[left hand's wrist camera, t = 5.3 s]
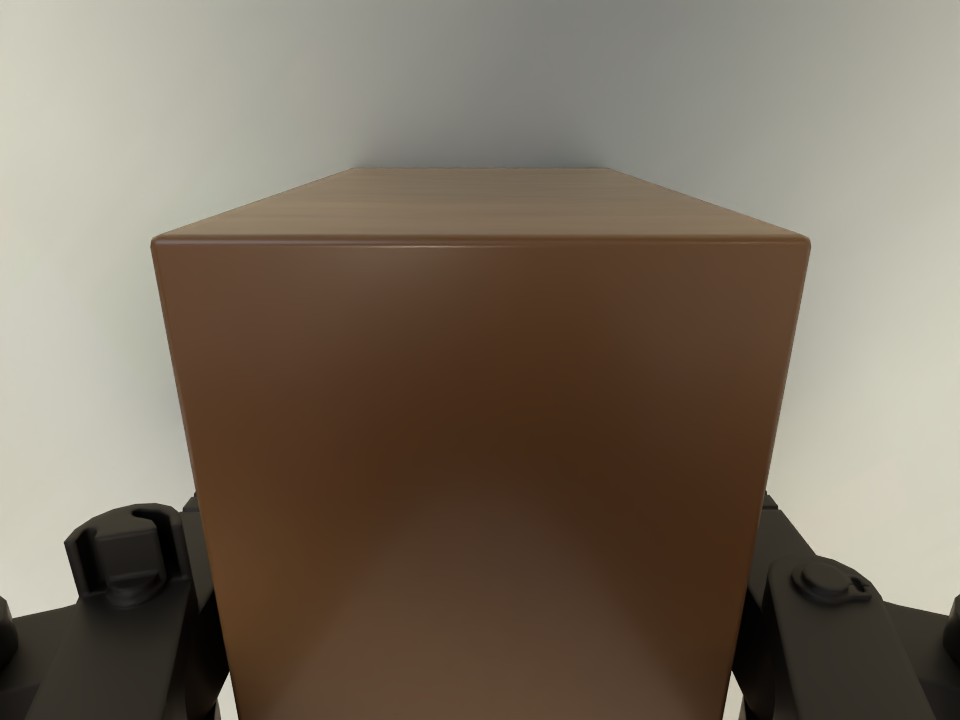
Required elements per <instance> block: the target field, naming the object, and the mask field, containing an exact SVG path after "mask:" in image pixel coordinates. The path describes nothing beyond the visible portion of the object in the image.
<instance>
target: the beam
mask: <svg viewBox="0 0 960 720" xmlns="http://www.w3.org/2000/svg"><path fill="white" fill-rule="evenodd" d="M150 248H151V253H152V258H153V264H154V269H155V274H156V280H157V285H158V290H159V296H160V301H161V306H162V312H163V317H164V323H165V328H166V333H167V339H168V344H169V349H170V355H171V360H172V365H173V371H174V376H175V382H176V387H177V392H178V398H179V403H180V408H181V414H182V419H183V424H184V430H185V435H186V440H187V446H188V451H189V457H190V462H191V467H192V473H193V478H194V483H195V489H196V494H197V499H198V505H199V510H200V515H201V521H202V526H203V532H204V537H205V542H206V548H207V553H208V558H209V564H210V569H211V574H212V580H213V585H214V590H215V596H216V601H217V607H218V612H219V617H220V623H221V628H222V633H223V639H224V644H225V649H226V655H227V660H228V665H229V671H230V676H231V682H232V687H233V692H234V698H235V703H236V708H237V714H238V719H239V720H722V719H723V713H724V708H725V703H726V697H727V692H728V687H729V681H730V676H731V671H732V665H733V660H734V655H735V649H736V644H737V639H738V633H739V628H740V623H741V617H742V612H743V607H744V601H745V596H746V591H747V585H748V580H749V575H750V569H751V564H752V559H753V554H754V548H755V543H756V538H757V532H758V527H759V522H760V516H761V511H762V506H763V500H764V495H765V490H766V484H767V479H768V474H769V468H770V463H771V458H772V452H773V447H774V442H775V436H776V431H777V426H778V420H779V415H780V410H781V404H782V399H783V394H784V388H785V383H786V378H787V373H788V367H789V362H790V357H791V351H792V346H793V341H794V335H795V330H796V325H797V319H798V314H799V309H800V303H801V298H802V293H803V287H804V282H805V277H806V271H807V266H808V261H809V255H810V250H811V244H810V239H809V238H808V237H806V236H803V235H801V234H798V233H795V232H793V231H790V230H787V229H784V228H781V227H778V226H775V225H772V224H769V223H766V222H763V221H760V220H758V219H755V218H752V217H749V216H746V215H743V214H740V213H737V212H734V211H731V210H728V209H725V208H722V207H720V206H717V205H714V204H711V203H708V202H705V201H702V200H699V199H696V198H693V197H690V196H687V195H685V194H682V193H679V192H676V191H673V190H670V189H667V188H664V187H661V186H658V185H655V184H652V183H650V182H647V181H644V180H641V179H638V178H635V177H632V176H629V175H626V174H623V173H620V172H617V171H615V170H612V169H609V168H351V169H349V170H346V171H343V172H340V173H337V174H334V175H331V176H328V177H325V178H322V179H320V180H317V181H314V182H311V183H308V184H305V185H302V186H299V187H296V188H293V189H291V190H288V191H285V192H282V193H279V194H276V195H273V196H270V197H267V198H264V199H262V200H259V201H256V202H253V203H250V204H247V205H244V206H241V207H238V208H235V209H233V210H230V211H227V212H224V213H221V214H218V215H215V216H212V217H209V218H206V219H203V220H201V221H198V222H195V223H192V224H189V225H186V226H183V227H180V228H177V229H174V230H172V231H169V232H166V233H163V234H160V235H158V236H156V237H153V238H152V240H151V247H150Z"/></svg>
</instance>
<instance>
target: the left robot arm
mask: <svg viewBox="0 0 960 720" xmlns="http://www.w3.org/2000/svg"><path fill="white" fill-rule="evenodd" d="M64 545H65V548H66V552H67V556H68V559H69V563H70V566H71V570H72V573H73V577H74V580H75V584H76V587H77V591H78V594H79V598H78V600H77V603H76V604H74V605H71V606H67V607H64V608H59V609H54V610H50V611H45V612H40V613H36V614H31V615H26V616H22V617H17V618H12V616H11V613H10V610H9V607H8V604H7V601H6V600H5V599H4V598H2V597H1V596H0V720H221V716H220V709H219V704H218V699H217V697H218V695H219V693H220V691H221V689H222V686H223V684H224V682H225V680H226V678H227V676H228V673H229V665H228V660H227V655H226V649H225V644H224V639H223V633H222V628H221V623H220V617H219V612H218V607H217V601H216V596H215V590H214V585H213V580H212V574H211V569H210V564H209V558H208V553H207V548H206V542H205V537H204V532H203V526H202V521H201V515H200V510H199V505H198V499H197V494H196V492H195V493H194V497H191V498H190V500H189V501H188V502H187V503H186V505H185V506H184V507H183V512H178V511H176V510H175V509H174V508H173V507H171V506H167V505H162V504H157V503H147V504H134V505H129V506H125V507H121V508H116V509H113V510H110V511H108V512H106V513H103V514H101V515H98V516H96V517H93V518H92V519H90V520H89V521H87V522H85V523H84V524H82V525H81V526H79V527H78V528H76V529H75V530H74V531H73V532H72V533H71V534H70V536H69V537H68V538H67V539H66V540H65V541H64ZM732 672H733V674H734V676H735V678H736V680H737V682H738V685H739V687H740V689H741V691H742V693H743V699H742V704H741V709H740V714H739V719H738V720H960V595H958V596H957V597H956V598H955V600H954V603H953V606H952V609H951V612H950V615H949V616H947V615H942V614H937V613H933V612H928V611H923V610H919V609H914V608H909V607H905V606H900V605H896V604H892V603H889V602H885V601H883V599H882V597H881V595H880V594H879V593H878V591H877V590H876V588H875V587H874V586H873V584H872V583H871V582H870V581H869V580H867V579H866V578H865V577H863V576H862V575H861V574H859V573H858V572H857V571H856V570H854V569H852V568H850V567H848V566H846V565H844V564H842V563H839V562H837V561H835V560H832V559H829V558H825V557H821V556H817V555H816V554H815V553H814V552H813V550H812V549H811V548H810V546H809V545H808V544H807V543H806V541H805V540H804V539H803V537H802V536H801V535H800V534H799V532H798V531H797V530H796V528H795V527H794V526H793V525H792V523H791V522H790V521H789V519H788V518H787V517H786V516H785V514H784V513H783V512H782V511H781V510H778V505H777V504H776V503H775V502H774V500H773V499H772V498H771V496H770V495H767V491H766V490H765V495H764V500H763V506H762V511H761V516H760V522H759V527H758V532H757V538H756V543H755V548H754V554H753V559H752V564H751V569H750V575H749V580H748V585H747V591H746V596H745V601H744V607H743V612H742V617H741V623H740V628H739V633H738V639H737V644H736V649H735V655H734V660H733V665H732Z"/></svg>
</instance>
